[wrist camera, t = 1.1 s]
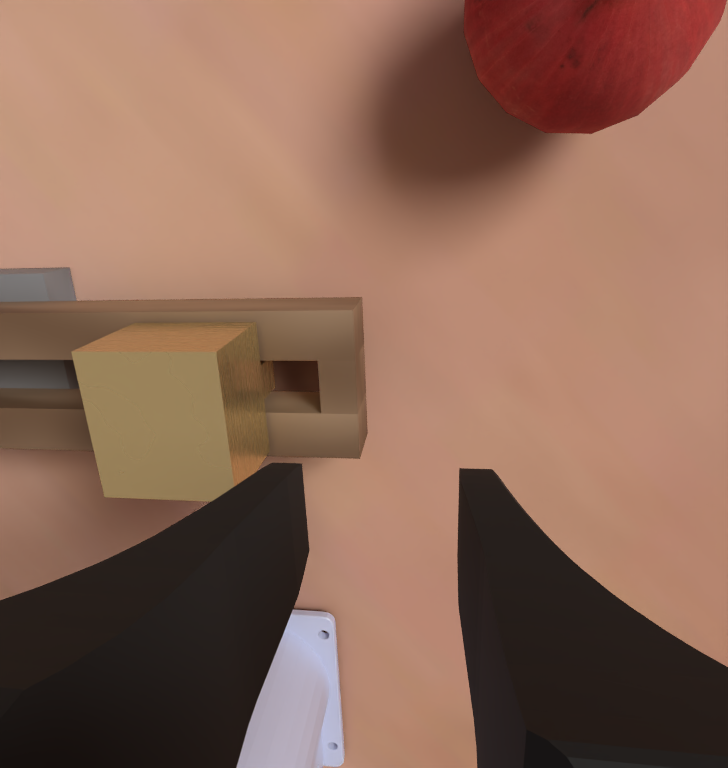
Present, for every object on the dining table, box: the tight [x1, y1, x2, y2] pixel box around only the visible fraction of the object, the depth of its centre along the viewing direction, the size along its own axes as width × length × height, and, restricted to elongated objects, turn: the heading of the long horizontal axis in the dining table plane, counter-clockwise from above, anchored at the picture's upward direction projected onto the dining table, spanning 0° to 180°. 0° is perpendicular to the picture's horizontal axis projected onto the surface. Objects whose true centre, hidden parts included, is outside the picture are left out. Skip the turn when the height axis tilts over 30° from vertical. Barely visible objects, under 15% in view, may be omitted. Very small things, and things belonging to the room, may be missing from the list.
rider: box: [71, 322, 275, 502], centre depth 17 cm, size 4×4×5 cm
